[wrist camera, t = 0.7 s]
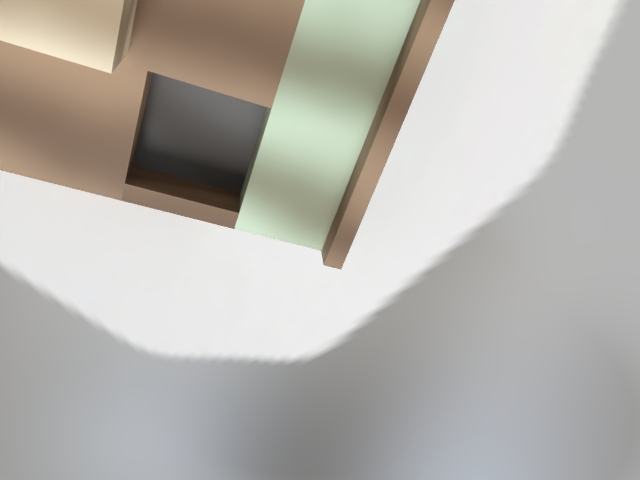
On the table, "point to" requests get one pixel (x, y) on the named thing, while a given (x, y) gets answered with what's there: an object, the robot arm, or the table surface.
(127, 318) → the table surface
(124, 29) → the birch block
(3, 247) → the table surface
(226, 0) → the multicoloured piece
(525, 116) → the table surface
